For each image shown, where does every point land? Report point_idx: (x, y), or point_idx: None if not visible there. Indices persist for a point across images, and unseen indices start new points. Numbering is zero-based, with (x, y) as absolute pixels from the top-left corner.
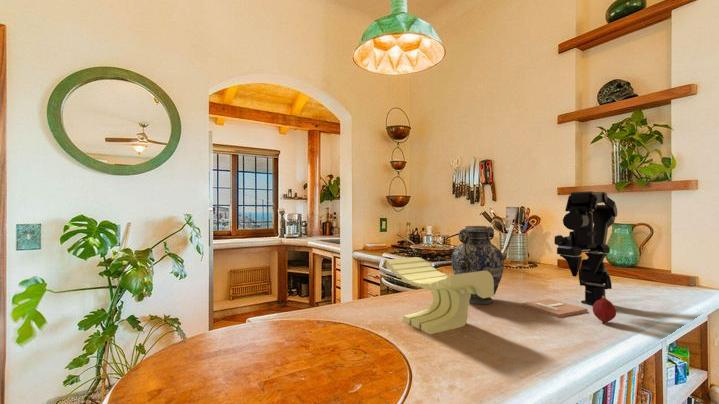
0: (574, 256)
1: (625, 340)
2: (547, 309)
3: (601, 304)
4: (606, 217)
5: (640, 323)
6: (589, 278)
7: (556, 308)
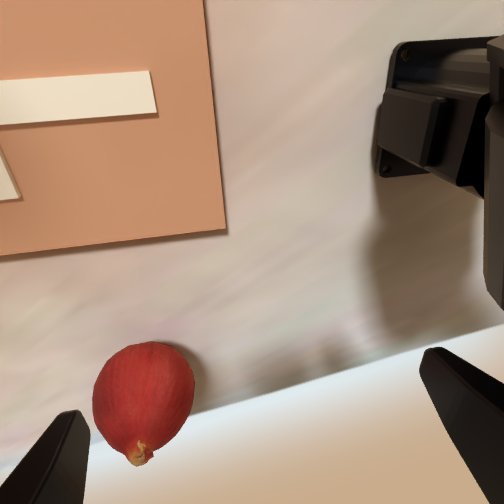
0: None
1: None
2: None
3: (105, 438)
4: None
5: (279, 369)
6: (490, 213)
7: (1, 183)
